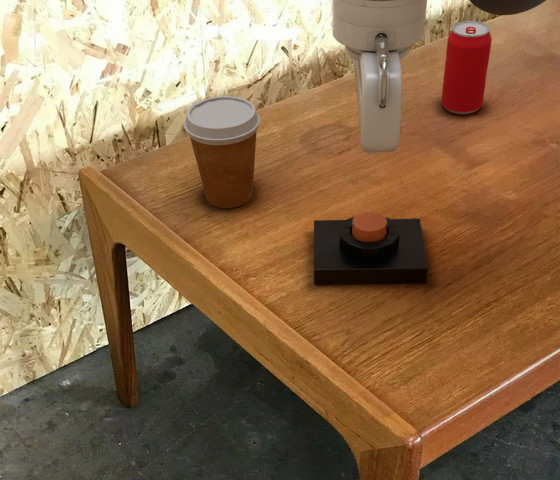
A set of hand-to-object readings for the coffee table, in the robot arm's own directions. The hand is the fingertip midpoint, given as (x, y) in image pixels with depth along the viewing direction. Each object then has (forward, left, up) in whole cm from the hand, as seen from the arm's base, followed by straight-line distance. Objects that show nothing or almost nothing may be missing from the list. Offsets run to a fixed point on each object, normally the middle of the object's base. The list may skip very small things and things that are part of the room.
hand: (372, 147), depth 85 cm
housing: (0, 0, -15) cm, 15 cm away
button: (0, 0, -11) cm, 11 cm away
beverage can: (-16, -38, -15) cm, 44 cm away
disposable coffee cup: (+18, -14, -15) cm, 27 cm away
